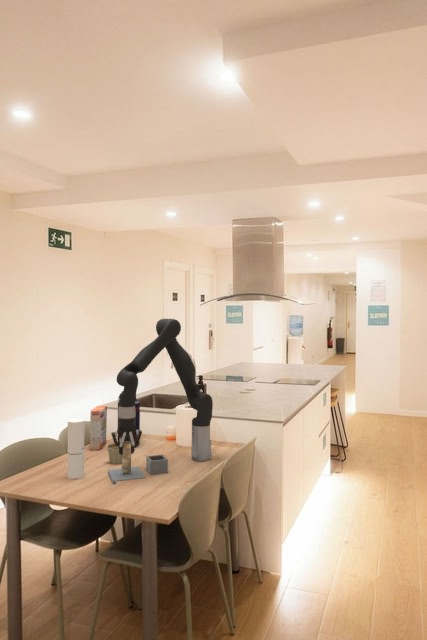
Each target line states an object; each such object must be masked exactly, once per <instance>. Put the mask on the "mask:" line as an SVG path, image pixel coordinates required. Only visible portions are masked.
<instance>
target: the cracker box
mask: <svg viewBox="0 0 427 640" xmlns="http://www.w3.org/2000/svg"><path fill="white" fill-rule="evenodd" d="M107 417H108V406H107V405H97V406H95V407H94V408H92V409H91V410H90V422H89V423H90V426H89V427H90V428H89V429H90V430H89V450H91V451H101V449H102V448H103V447H104V446H105V445H106V444H107V427H108V426H107V423H108V422H107V421H108V420H107V419H108V418H107Z"/></svg>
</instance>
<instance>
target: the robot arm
mask: <svg viewBox="0 0 427 640" xmlns="http://www.w3.org/2000/svg"><path fill="white" fill-rule="evenodd" d="M155 330H156V333H157V337H156V338H155V339H154V340H152V341H151V342H150V343H148V344H147V345H146V346H144V347H143V348H142V349H141V350H140V351H139V352H138V353H137V354H136V355H135V356H134V357H133V359H132V360H131V362H128V364H127V365H125V366H124V367H123V368H122V369H120V371H119V372H118V373H117V376H116V382H117V384H118V385H119V386H121V387H123V390H122V391H123V393H122V392H121V393H120V394H119V395H118V397H119V401H118V402H119V410H118V409H117V430H115V431H112V432H111V433H110V434H111V437H112V440H113V441H112V442H113V444H115V445H116V446H119V454H120V455H123V447H122V445H123V442H124V439H130V441H131V455H134V453H135V448H136V446H137V445H136V444H138V443H139V441H141V438H142V435H143V431H142V430H141V429H140V430H136V428H135V416H136V413H135V395H136V396H137V391H138V386H139V378H138V374H139V373H143V372H144V371H145V370H146V369H147V368H148V367H149V366H150V364H151V363H152V362H153V361H154V359H156V357H157V356H158V355H159V354H160V353H161V352H162V351H163V350H164V349H166V352H167V354H168V356H169V359H170V360H171V362H172V364H173V367H174V369H175V372H176V374H177V376H178V378H179V381H180V383H181V385H182V387H183V389H184V392H185V395H186V398H187V401H188V404H189V406H190V407H191V409H193V410H195V411H196V416H195V417H193V418H192V419H191V454H190V455H191V460H192V461H194V462H206V461H209V460H212V440H211V420H212V418H213V408H214V403H213V398H212V396H211V395H210V394H209V393H205V392H202V391H201V390H200V388H199V385H197V380H196V372H197V371H196V366H195V364H194V362H193V360H192V357H191V356H190V354H189V353H188V351H186V350H185V349H184V347H183V346H182V345H181V344H180V343H179V341H178V339H177V337H178V336H179V335H180V333H181V331H182V325H181V323H180V322H179V320H177V319H175V318H161V319H159V320H158V321H157V322H156V324H155ZM135 432H136V434H137V437H136V440H135V441H134V439H133V435H134V434H135ZM118 434H119V435H120V440H119V443H118ZM139 444H140V443H139ZM139 444H138V445H139ZM135 445H136V446H135Z"/></svg>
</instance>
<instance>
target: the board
mask: <svg viewBox="0 0 427 640" xmlns="http://www.w3.org/2000/svg"><path fill="white" fill-rule="evenodd" d="M107 474H108V476H109V479H110V481H111V483H112V484H113V485H117V482H124V481H132V480H141V479H146V476H145V474H144V473H143V471H142V470H141V469H140V467H139V466H131V472H129V473H123V472H122V467H121V468H114V469H108V470H107Z"/></svg>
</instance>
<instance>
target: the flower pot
mask: <svg viewBox="0 0 427 640" xmlns="http://www.w3.org/2000/svg"><path fill="white" fill-rule="evenodd" d="M106 448H107V449H106V450H107V451H108V459H109V463H110V464H113V465H115V464H116V465H117V464H118V465H119V464H122V455H120V454H119V446H116V445H115V444H114V443H110V444H108V445H106Z"/></svg>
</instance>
